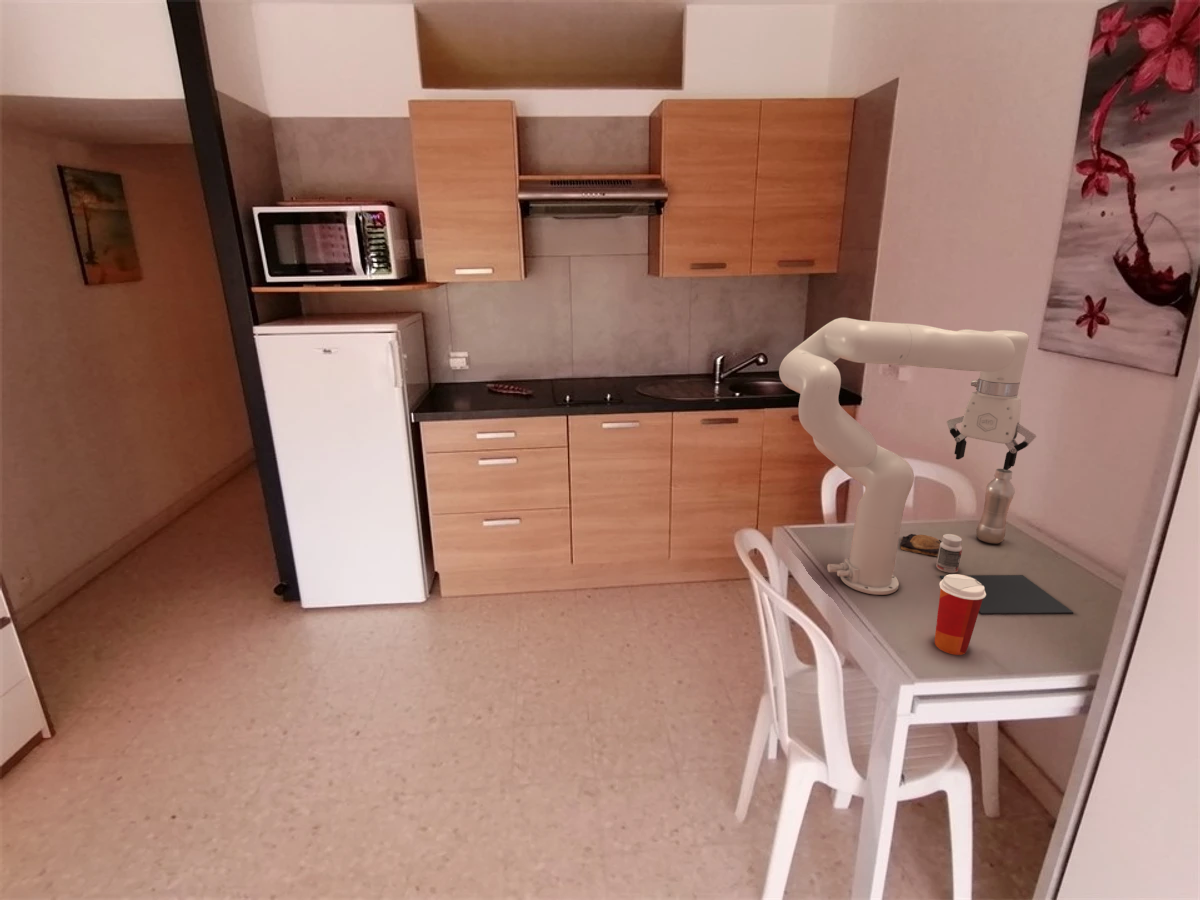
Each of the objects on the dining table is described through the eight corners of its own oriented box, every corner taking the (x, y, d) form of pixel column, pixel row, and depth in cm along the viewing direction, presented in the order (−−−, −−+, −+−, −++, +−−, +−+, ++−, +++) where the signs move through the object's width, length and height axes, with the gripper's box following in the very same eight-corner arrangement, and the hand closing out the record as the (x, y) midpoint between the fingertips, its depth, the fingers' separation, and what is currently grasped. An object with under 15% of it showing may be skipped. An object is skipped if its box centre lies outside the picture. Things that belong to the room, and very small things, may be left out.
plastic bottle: (968, 537, 166) (983, 468, 160) (988, 534, 168) (1002, 465, 162) (989, 547, 160) (1005, 476, 154) (1009, 544, 162) (1025, 473, 156)
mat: (980, 614, 130) (981, 612, 130) (939, 576, 146) (939, 575, 145) (1073, 613, 131) (1073, 612, 131) (1022, 576, 146) (1022, 575, 146)
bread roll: (945, 546, 161) (948, 533, 160) (945, 559, 154) (948, 546, 153) (901, 537, 166) (903, 525, 165) (899, 550, 159) (901, 537, 158)
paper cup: (958, 634, 123) (971, 572, 119) (981, 658, 116) (996, 593, 112) (919, 634, 123) (931, 572, 119) (941, 658, 116) (954, 593, 112)
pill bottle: (960, 574, 147) (967, 542, 144) (939, 572, 148) (945, 540, 145) (953, 565, 151) (960, 534, 149) (933, 563, 152) (939, 532, 150)
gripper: (948, 385, 136) (935, 457, 142) (1039, 397, 124) (1022, 477, 129) (960, 380, 141) (948, 451, 146) (1049, 392, 129) (1032, 469, 134)
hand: (982, 463), depth 138 cm, fingers open, 9 cm apart
